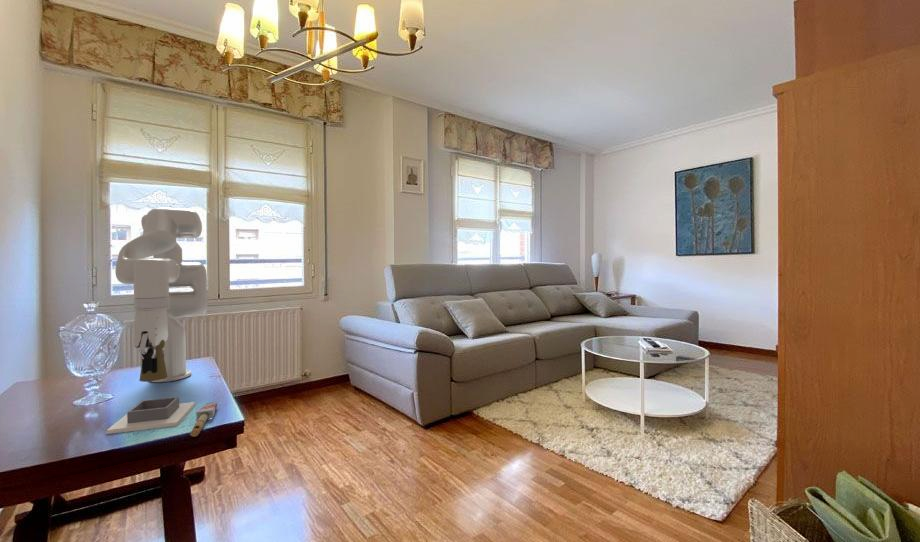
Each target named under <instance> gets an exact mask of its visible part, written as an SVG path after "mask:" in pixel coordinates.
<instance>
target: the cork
mask: <svg viewBox="0 0 920 542" xmlns="http://www.w3.org/2000/svg"><path fill="white" fill-rule="evenodd" d="M164 346H165V341H164V340H162V341H161V342H160V344H159V345H158V346H156V357H155V358H157V370H158V371H157V372H156V373H152V372H151V371H148V372H147V373H146V374H143V373H142V365H141V367H140V375H139V382H143V383H145V382H147V383H148V382H151V381H156V380H161V379H164V378H166V377H167V371H166V366H165V360H164V355H163V350H162V349H163V348H164ZM147 347H152V344H148V346H147ZM148 350H151V352H152V349H148Z"/></svg>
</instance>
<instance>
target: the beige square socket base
mask: <svg viewBox="0 0 920 542" xmlns="http://www.w3.org/2000/svg"><path fill="white" fill-rule="evenodd" d="M195 406H196V402H195V401H191V402H182V403H180V396H174V397H164V398H154V399H153V398H152V399H145V400H144V399H142V400H141V401H140V402H138V403H137V404H135V406H133V407H132V408H131V409H129V410H128V411H127V412H126V414H125V415H124V416H122V417H121V418H120V419H119V420H117V421H116V422H115V423H114V424H112V425H111V426H109V428H108V429H106V430H105V431H106V435H110V434H111V435H112V434H118V433H120V434H121V433H127V432H134V431H144V430H145V431H146V430H152V429H153V430H154V429H162V428H168V427H176V426H179V424H180V423H181V422H182V421H183V420H184V419H185V418H186V416H188V414H189V413H190V412H191V411H192V410H193V409H194V407H195Z"/></svg>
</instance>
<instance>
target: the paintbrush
mask: <svg viewBox="0 0 920 542" xmlns="http://www.w3.org/2000/svg"><path fill="white" fill-rule="evenodd" d="M218 404H219V402H218V401H214V402H206V404H204V405H203V406H202V407H201V408H199V409H198V410H197V411H196V412H195V413H196V414H195V415H196V421H197V422H196V423H195V425H194V426H193V427H192V429H191V431H190V432H189V435H190V437H192V438H194V437H197V436H199V434H200V433H201V431H202V429H203V427H204V425H205V423H206V421H208V420H207V419H210V418H213V419H214V417H213V416H215V413H216V411H217V406H218Z"/></svg>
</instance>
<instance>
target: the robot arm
mask: <svg viewBox="0 0 920 542" xmlns="http://www.w3.org/2000/svg"><path fill="white" fill-rule="evenodd" d="M140 222H141V227H142V230H143V232H142V235H140V236H138V237H135V238H134V239H132V240H130V241H129V242H127V243H126V244H124V245H123V246H122V247H121V248H120V250H119V253H118V255H117V260H116V264H115V269H114V270H115V277H116V279H117V281H118V282H119V283H121V284H124V285H128V286H129V285H131V286H132V285H133V298H134V299H133V303H134V304H133V306H134V307H133V310H134V312H135V314H134V320H133V343H132V344H133V348H135V349H138V350H139V351H138V352H139V353H140V354H141V366H142V373H143V374H146V373H147V372H148V371H151V372H152V373H156V372H157V371H158V370H157V358H155V357H156V346H158V345H159V344H160V342H161V341H162V340H164V341H165V346H164V348H163V349H162V350H163V355H164V360H165V366H166V371H167V377H166V378H164V379H161V380H156V381H150V382H152V383H165V382H166V383H167V382H173V381H178V380H179V381H180V380H182V379H185V378H188V377H190V376H191V375H192V371H191V370H190V369H187V350H186V348H187V347H186V346H187V345H186V328H185V326H184V325H183V323H181V322H180V320H178V319H177V318H185V317H186V318H188V317H189V318H190V317H199V316H204V315H205V314H206V313H207V311H208V305H209V304H208V279H207V278H208V277H207V269H206V267H205V266H204V264H203V263H201V262H197V261H193V262H192V261H188V262H186V261H183V249H182V247H181V245H180V244H179V243H178V242H177V239H197V238H199V237H200V236H201V233H202V232H203V223H202V220H201V217H200V215H199V213H198V212H196V211H195V210H193V209H190V208H178V207H177V208H176V207H155V208H153V209H151V210H149V211H148V212H147V213H146V214H144V215H143V216H142V217H141V221H140ZM179 288H180V289H181V288H185V289H186V288H187V289H188V288H189V289H192V290H189V291H180V290H179V291H170V289H179ZM148 344H152V347H147V346H148ZM148 349H152V352H151V350H148Z"/></svg>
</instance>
